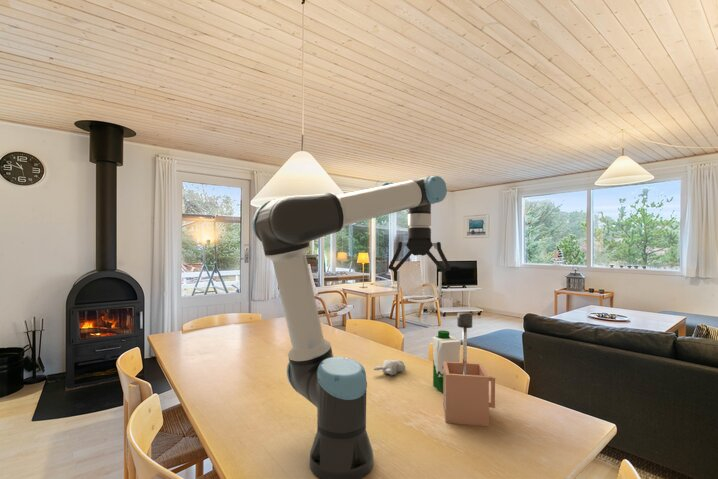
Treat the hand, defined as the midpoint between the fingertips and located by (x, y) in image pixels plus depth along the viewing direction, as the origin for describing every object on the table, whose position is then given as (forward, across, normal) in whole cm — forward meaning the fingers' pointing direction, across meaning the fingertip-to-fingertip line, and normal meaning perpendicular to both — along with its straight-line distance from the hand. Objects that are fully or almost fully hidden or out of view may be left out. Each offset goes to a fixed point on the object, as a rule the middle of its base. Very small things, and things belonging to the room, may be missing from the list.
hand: (418, 291), depth 119 cm
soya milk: (+37, -11, -13) cm, 40 cm away
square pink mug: (+36, -15, +7) cm, 40 cm away
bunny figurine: (+37, +10, -26) cm, 46 cm away
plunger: (+27, -14, +7) cm, 31 cm away
